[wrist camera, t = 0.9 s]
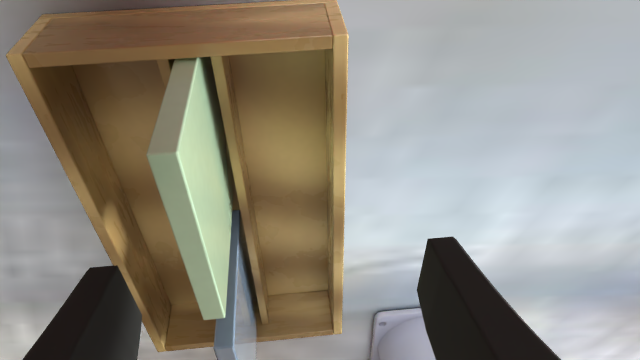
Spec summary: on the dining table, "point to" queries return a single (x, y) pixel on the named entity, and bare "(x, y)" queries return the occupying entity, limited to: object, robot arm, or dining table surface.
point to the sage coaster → (196, 179)
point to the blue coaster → (238, 302)
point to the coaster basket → (242, 140)
